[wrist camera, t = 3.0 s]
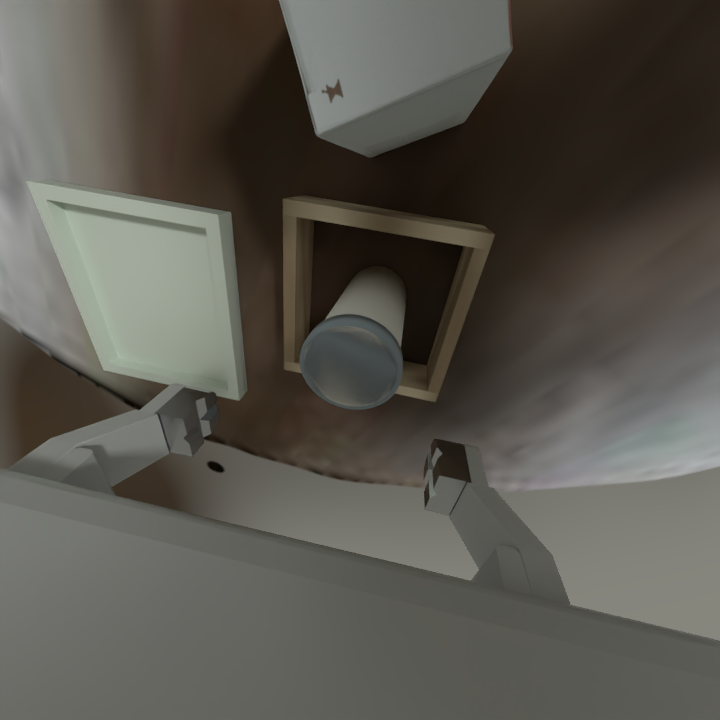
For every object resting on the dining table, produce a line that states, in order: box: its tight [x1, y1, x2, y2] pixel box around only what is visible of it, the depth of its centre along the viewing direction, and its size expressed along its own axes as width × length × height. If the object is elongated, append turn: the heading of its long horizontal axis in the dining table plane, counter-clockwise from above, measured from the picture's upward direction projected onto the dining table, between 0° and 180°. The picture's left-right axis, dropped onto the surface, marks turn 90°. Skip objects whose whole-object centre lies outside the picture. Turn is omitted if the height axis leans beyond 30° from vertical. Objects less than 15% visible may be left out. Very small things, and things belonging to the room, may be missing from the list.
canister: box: [300, 266, 407, 410], centre depth 18 cm, size 5×5×10 cm
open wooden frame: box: [283, 195, 495, 402], centre depth 21 cm, size 12×12×4 cm
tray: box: [27, 180, 248, 401], centre depth 25 cm, size 14×16×2 cm
